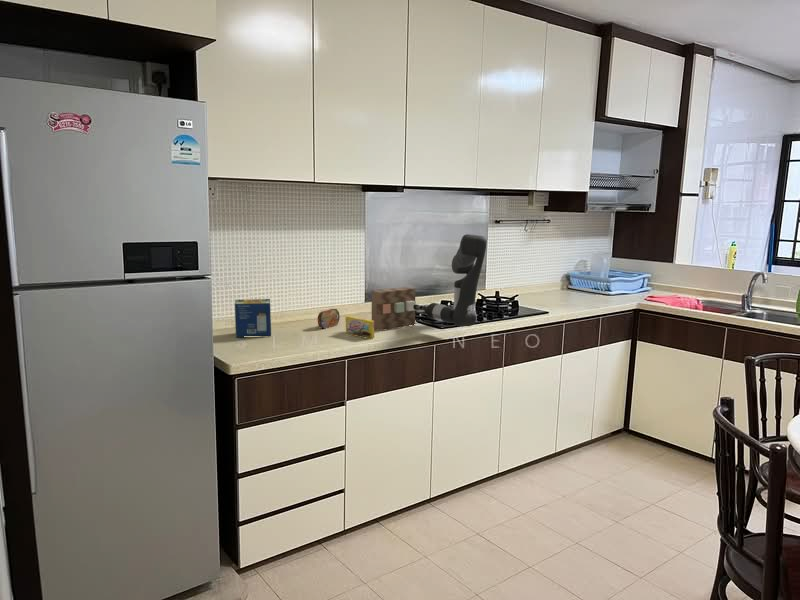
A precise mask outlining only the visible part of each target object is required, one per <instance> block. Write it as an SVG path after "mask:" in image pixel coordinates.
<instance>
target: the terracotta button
mask: <svg viewBox="0 0 800 600" xmlns="http://www.w3.org/2000/svg"><path fill="white" fill-rule="evenodd" d="M387 313H391V304H389V303H387V304H382V314H387Z"/></svg>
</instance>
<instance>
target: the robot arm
mask: <svg viewBox="0 0 800 600" xmlns="http://www.w3.org/2000/svg"><path fill="white" fill-rule="evenodd" d="M487 246H488V245H487V237H486V236H483V235H477V234H469V233H468V234H467V233H466V234H464V235H463V236H462V237H461V240H460V242H459V248H458V249H457V251H456V254H455V255H454V256H453V258H452V260H451V269H452V272H453V273H454V274H457V275H460V274H461V275H465V276H464V277H463V278H461V279H458V280H455V281H454V283H453V286H454V287H453V289H454V290H453V306H448V305H446V304H441V303H437V302H430V303H429V304H424V305H423V304H421V305H420V304H417V303H416V305H414V308H413V309H415V315H416V314H417V315H418V314H420V313H421V314H424V315H426V316H427V317H428V319H431V320H435V321H438V322H444V323H449V324H451V323H452V324H454V325H455V326H457V327H472V326H474V325H475V324H476V321H477V315H476V313H475V312H474V305H475V303H476V295H477V288H478V284H479V280H480V275H481V273H482V268H483V264H484V259H485V256H486V253H487V252H486V251H487Z"/></svg>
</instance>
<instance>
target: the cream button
mask: <svg viewBox="0 0 800 600" xmlns="http://www.w3.org/2000/svg"><path fill="white" fill-rule="evenodd" d="M416 304H417V302H416V300H415V301H412V300H411V301H406V311H414V310H415V309H413V308H414V305H416ZM415 311H416V310H415Z"/></svg>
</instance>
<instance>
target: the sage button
mask: <svg viewBox="0 0 800 600" xmlns="http://www.w3.org/2000/svg"><path fill="white" fill-rule="evenodd" d="M394 312H395V313H400V312H404V303H403V302H396V303H394Z"/></svg>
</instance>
